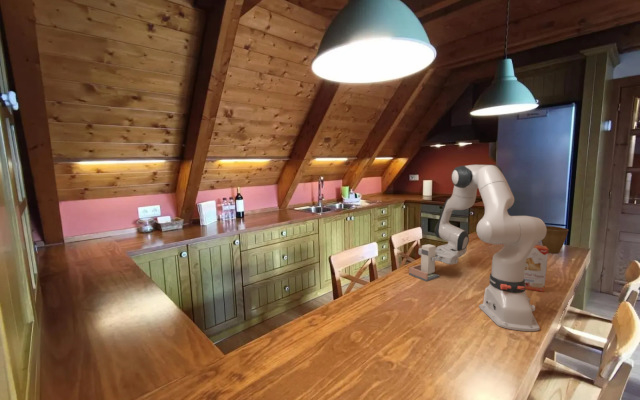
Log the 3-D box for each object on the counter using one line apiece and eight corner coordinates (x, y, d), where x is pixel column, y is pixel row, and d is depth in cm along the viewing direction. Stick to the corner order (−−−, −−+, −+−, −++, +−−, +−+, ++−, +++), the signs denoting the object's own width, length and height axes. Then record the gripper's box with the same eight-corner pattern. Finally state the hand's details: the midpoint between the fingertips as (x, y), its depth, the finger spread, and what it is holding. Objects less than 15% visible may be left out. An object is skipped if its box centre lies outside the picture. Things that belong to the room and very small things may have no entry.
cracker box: (508, 287, 143) (512, 244, 141) (507, 282, 149) (511, 241, 146) (544, 292, 137) (549, 248, 134) (542, 287, 142) (546, 245, 139)
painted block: (434, 271, 156) (435, 246, 155) (427, 274, 153) (428, 247, 152) (427, 269, 160) (428, 244, 158) (420, 271, 157) (421, 245, 155)
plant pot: (571, 254, 191) (574, 229, 189) (553, 256, 188) (555, 231, 186) (549, 247, 205) (551, 225, 203) (531, 249, 202) (533, 226, 200)
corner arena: (439, 277, 156) (439, 269, 156) (426, 281, 151) (426, 274, 150) (421, 270, 166) (422, 263, 165) (408, 274, 160) (409, 267, 160)
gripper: (428, 243, 171) (411, 247, 164) (461, 252, 154) (444, 257, 146) (427, 253, 172) (411, 258, 164) (460, 264, 155) (443, 269, 147)
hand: (427, 257), depth 155 cm, fingers closed on painted block, 4 cm apart
